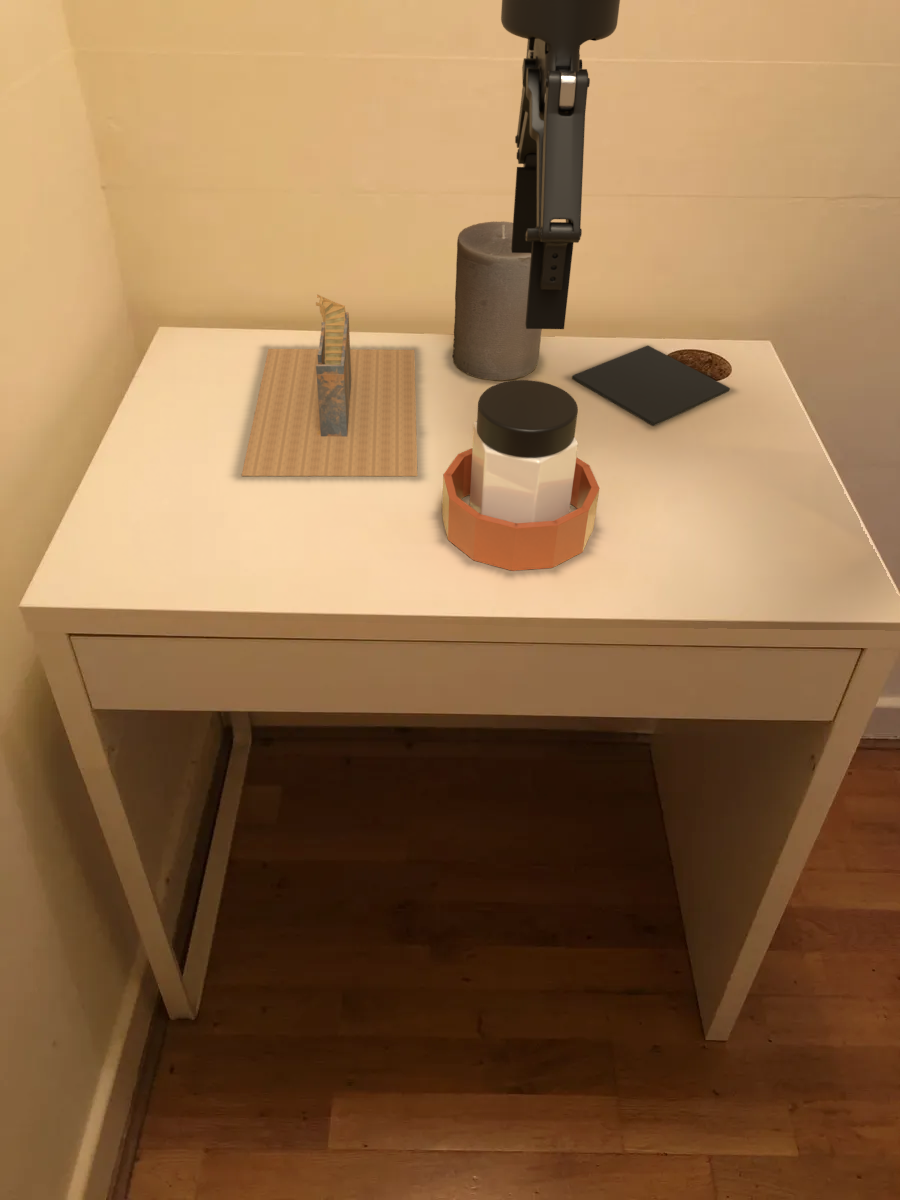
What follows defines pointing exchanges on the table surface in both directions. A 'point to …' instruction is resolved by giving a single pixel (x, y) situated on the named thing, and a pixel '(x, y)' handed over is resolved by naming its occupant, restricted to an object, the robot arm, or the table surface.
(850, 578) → the table surface
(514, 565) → the ring
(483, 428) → the jar
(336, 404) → the ruin model on sheet
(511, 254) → the pillar candle
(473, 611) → the table surface
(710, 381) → the mat
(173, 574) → the table surface
